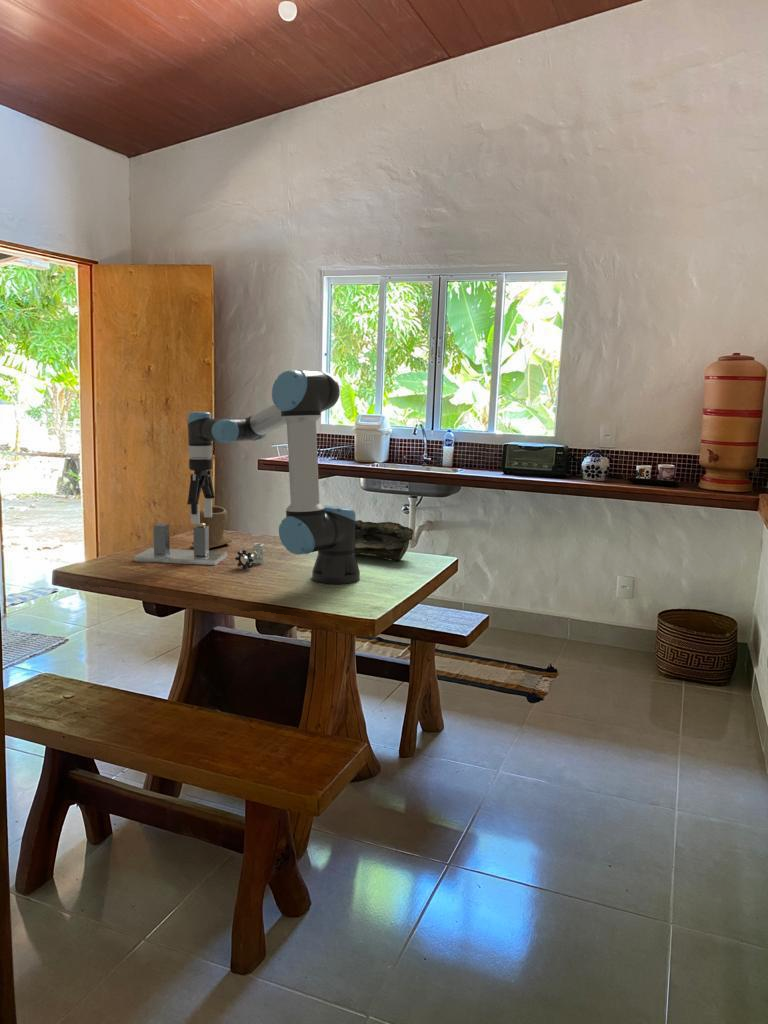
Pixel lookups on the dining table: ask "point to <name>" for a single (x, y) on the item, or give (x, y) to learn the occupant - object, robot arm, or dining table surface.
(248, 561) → the valve
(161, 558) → the grey base with knobs
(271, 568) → the dining table surface
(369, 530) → the rock
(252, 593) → the dining table surface
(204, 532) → the block
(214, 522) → the stone cup
